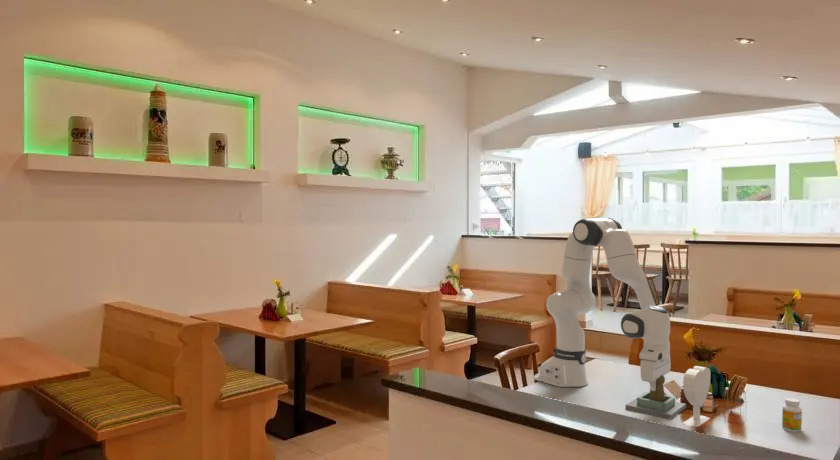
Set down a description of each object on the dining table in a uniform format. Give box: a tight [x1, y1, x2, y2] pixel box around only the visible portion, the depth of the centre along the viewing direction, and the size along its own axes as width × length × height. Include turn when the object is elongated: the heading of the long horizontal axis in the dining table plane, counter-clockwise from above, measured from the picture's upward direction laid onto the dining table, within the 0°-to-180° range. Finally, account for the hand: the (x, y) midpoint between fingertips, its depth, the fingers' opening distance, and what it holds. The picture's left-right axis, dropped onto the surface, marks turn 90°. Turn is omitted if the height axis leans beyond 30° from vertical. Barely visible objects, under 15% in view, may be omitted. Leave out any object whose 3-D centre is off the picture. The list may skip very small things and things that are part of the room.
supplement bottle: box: [781, 397, 803, 432], centre depth 197 cm, size 5×5×10 cm
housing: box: [625, 391, 687, 420], centre depth 217 cm, size 16×16×4 cm
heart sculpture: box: [682, 365, 712, 428], centre depth 204 cm, size 16×5×18 cm, turn 136°
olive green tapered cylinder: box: [649, 375, 666, 402], centre depth 217 cm, size 6×6×11 cm
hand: (656, 389), depth 217 cm, fingers closed on olive green tapered cylinder, 4 cm apart
